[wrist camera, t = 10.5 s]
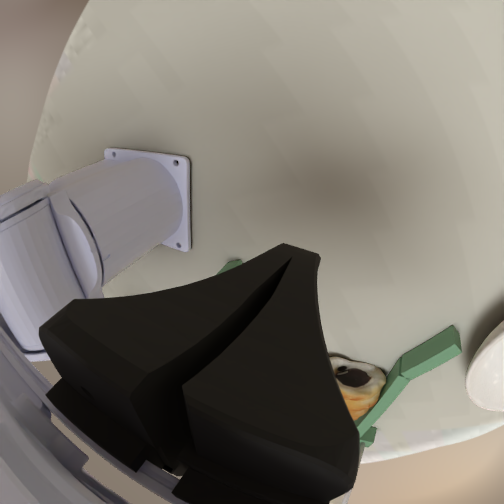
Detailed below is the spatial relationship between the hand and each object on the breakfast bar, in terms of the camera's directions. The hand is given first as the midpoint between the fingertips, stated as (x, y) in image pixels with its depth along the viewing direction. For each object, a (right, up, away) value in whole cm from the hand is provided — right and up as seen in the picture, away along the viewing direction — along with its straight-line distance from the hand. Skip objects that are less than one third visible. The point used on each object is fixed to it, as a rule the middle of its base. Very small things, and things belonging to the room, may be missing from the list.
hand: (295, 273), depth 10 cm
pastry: (+7, -11, +15) cm, 20 cm away
